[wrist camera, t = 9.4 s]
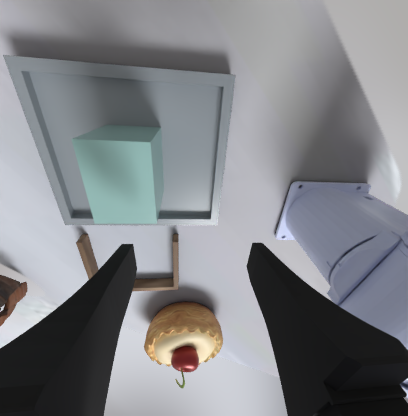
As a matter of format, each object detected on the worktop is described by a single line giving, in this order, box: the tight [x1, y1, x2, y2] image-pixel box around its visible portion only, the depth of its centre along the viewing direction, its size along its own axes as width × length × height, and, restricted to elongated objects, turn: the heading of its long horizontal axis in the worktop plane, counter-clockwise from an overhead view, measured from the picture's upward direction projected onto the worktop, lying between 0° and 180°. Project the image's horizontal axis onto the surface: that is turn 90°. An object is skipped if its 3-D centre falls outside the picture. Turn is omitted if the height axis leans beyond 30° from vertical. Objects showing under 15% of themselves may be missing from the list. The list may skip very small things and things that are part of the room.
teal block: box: [71, 125, 164, 224], centre depth 16 cm, size 4×6×6 cm
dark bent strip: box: [76, 234, 179, 291], centre depth 25 cm, size 11×9×2 cm
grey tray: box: [3, 55, 235, 225], centre depth 18 cm, size 16×14×2 cm
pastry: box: [144, 302, 223, 388], centre depth 30 cm, size 12×12×9 cm
